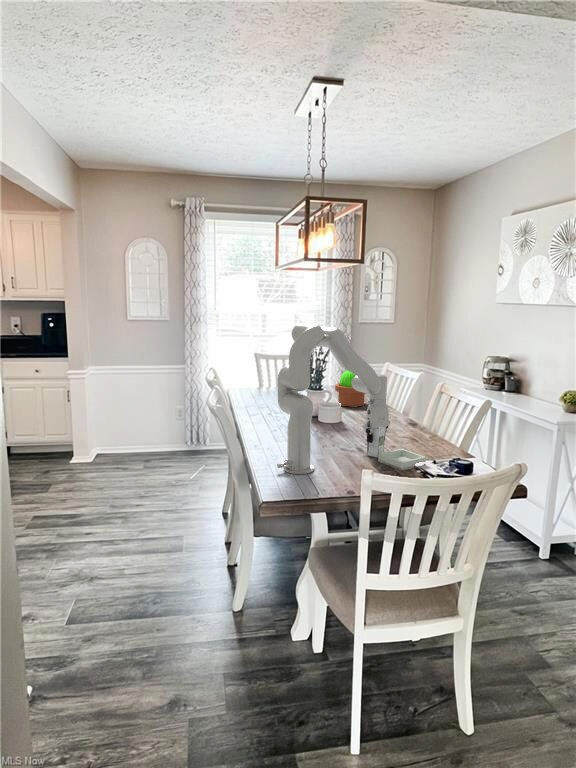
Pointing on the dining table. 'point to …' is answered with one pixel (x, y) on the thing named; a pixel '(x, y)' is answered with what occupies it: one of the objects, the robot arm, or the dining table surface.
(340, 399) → the potted cactus
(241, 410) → the dining table surface
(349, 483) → the dining table surface
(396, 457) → the tray
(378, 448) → the syrup box
